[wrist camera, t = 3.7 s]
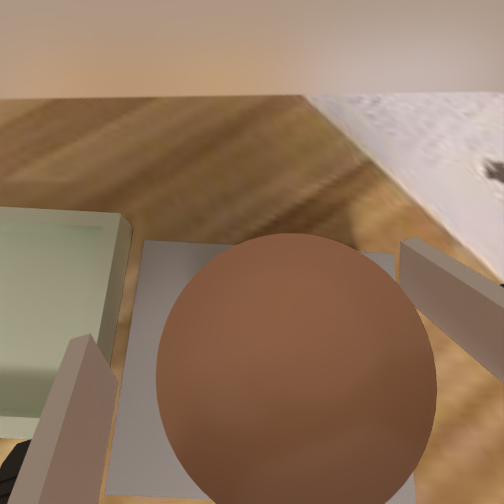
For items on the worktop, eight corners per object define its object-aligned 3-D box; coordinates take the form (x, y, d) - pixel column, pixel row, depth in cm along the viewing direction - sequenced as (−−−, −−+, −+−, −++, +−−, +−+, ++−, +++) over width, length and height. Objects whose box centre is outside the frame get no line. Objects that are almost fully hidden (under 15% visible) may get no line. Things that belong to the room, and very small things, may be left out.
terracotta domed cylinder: (198, 425, 16) (134, 527, 6) (209, 295, 18) (173, 226, 8) (328, 431, 16) (455, 540, 7) (326, 301, 18) (420, 240, 9)
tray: (-124, 421, 19) (-175, 429, 17) (-52, 217, 23) (-85, 201, 21) (98, 431, 20) (78, 441, 17) (133, 227, 23) (120, 213, 21)
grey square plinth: (132, 465, 19) (104, 494, 15) (161, 260, 23) (144, 239, 19) (379, 476, 19) (416, 508, 15) (367, 271, 23) (393, 253, 19)
